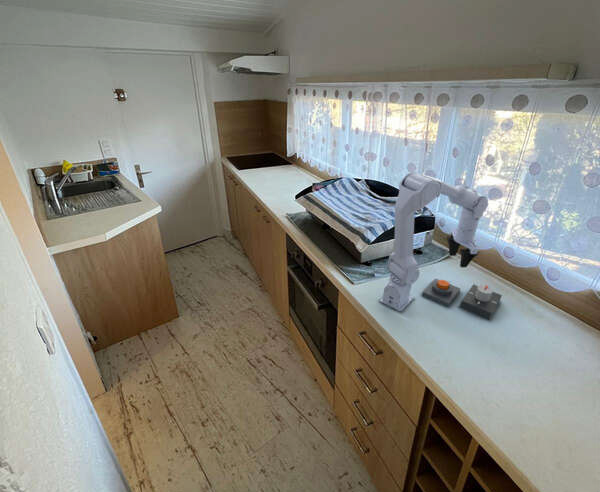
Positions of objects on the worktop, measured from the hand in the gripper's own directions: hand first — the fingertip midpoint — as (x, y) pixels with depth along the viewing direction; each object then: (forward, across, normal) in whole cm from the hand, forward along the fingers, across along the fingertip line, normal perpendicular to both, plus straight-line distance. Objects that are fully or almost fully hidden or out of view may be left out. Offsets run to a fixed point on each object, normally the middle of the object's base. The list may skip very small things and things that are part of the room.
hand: (457, 260), depth 110 cm
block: (+10, -6, +7) cm, 13 cm away
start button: (+7, -6, +7) cm, 11 cm away
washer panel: (+10, -13, -3) cm, 16 cm away
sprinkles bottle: (+10, +16, +16) cm, 25 cm away
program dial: (+7, -13, -3) cm, 15 cm away
